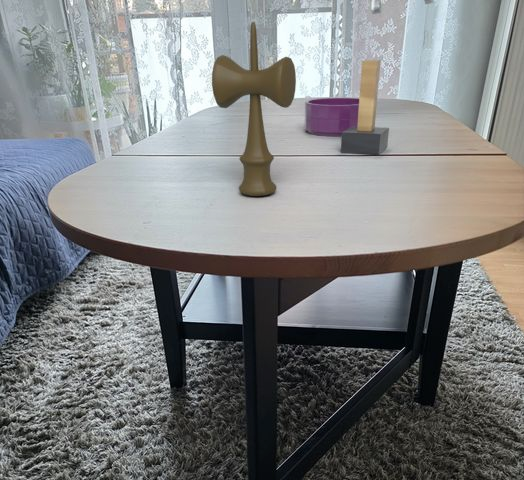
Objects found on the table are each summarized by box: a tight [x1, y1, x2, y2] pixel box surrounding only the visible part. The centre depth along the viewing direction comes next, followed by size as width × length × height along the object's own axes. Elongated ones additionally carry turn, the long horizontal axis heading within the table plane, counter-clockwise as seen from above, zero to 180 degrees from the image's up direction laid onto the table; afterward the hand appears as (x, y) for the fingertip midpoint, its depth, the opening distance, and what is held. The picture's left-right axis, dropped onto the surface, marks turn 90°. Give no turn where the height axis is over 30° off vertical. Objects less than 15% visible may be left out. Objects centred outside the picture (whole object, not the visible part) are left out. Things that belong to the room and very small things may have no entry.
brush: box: [340, 59, 390, 156], centre depth 90 cm, size 7×7×14 cm
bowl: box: [304, 97, 359, 137], centre depth 111 cm, size 14×14×6 cm
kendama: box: [211, 21, 297, 197], centre depth 65 cm, size 6×10×20 cm, turn 68°
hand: (401, 7), depth 92 cm, fingers open, 8 cm apart
